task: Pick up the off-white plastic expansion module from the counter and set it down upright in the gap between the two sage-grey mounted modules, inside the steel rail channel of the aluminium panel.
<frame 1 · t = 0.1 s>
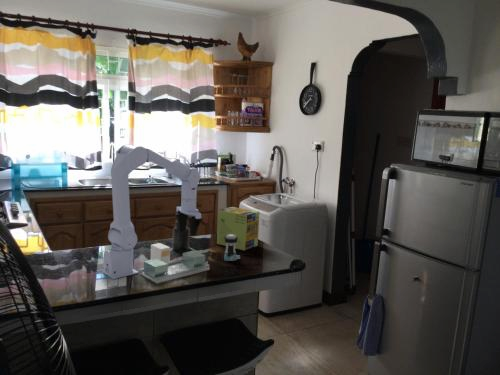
hand: (187, 233, 162), 10 cm above the counter, fingers open, 7 cm apart
push button: (231, 260, 164), on the counter
expansion module: (160, 261, 158), on the counter
protein box: (237, 245, 185), on the counter
din panel: (175, 271, 148), on the counter
supplement bottle: (180, 249, 174), on the counter
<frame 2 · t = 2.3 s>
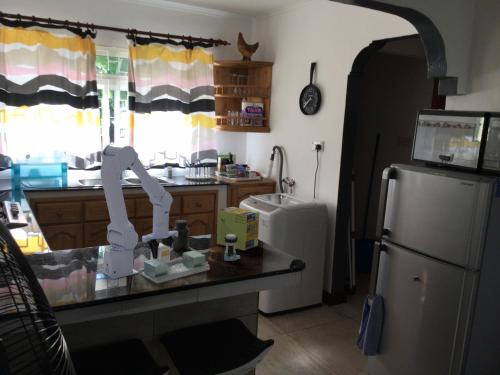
hand: (160, 257, 158), 1 cm above the counter, fingers closed on expansion module, 4 cm apart
expansion module: (160, 261, 158), on the counter, touching gripper
everything else where it was.
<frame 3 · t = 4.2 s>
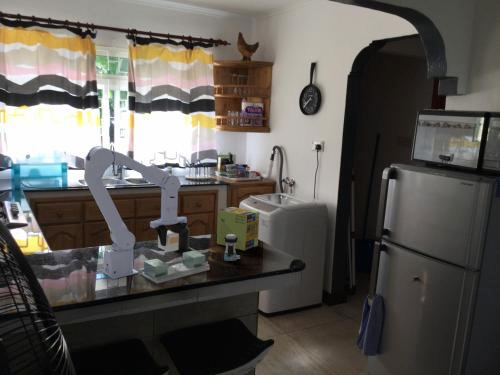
hand: (168, 244, 152), 8 cm above the counter, fingers closed on expansion module, 4 cm apart
expansion module: (168, 248, 152), point 7 cm above the counter, touching gripper
everything else where it was.
when the fingers open (3 cm above the counter, at t = 6.3 s): expansion module stays where it is, resting on din panel.
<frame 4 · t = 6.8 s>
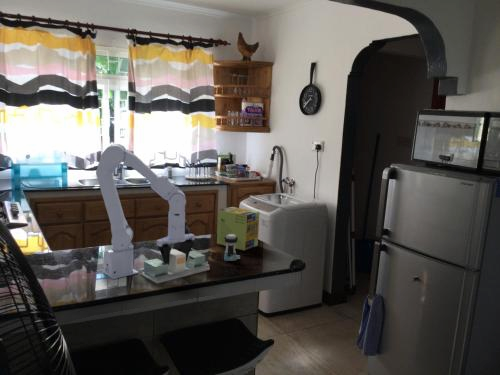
hand: (175, 262, 147), 3 cm above the counter, fingers open, 7 cm apart
expansion module: (174, 268, 148), point 1 cm above the counter, touching din panel
everything else where it was.
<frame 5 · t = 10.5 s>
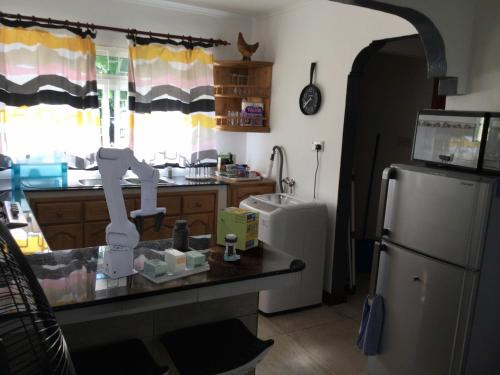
hand: (148, 233, 161), 9 cm above the counter, fingers open, 7 cm apart
nothing on the counter moved.
at the end: expansion module 0.4 cm off-centre on the din panel, point 1.0 cm above the din panel's base; expansion module tilted 0°; the gripper is holding nothing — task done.
